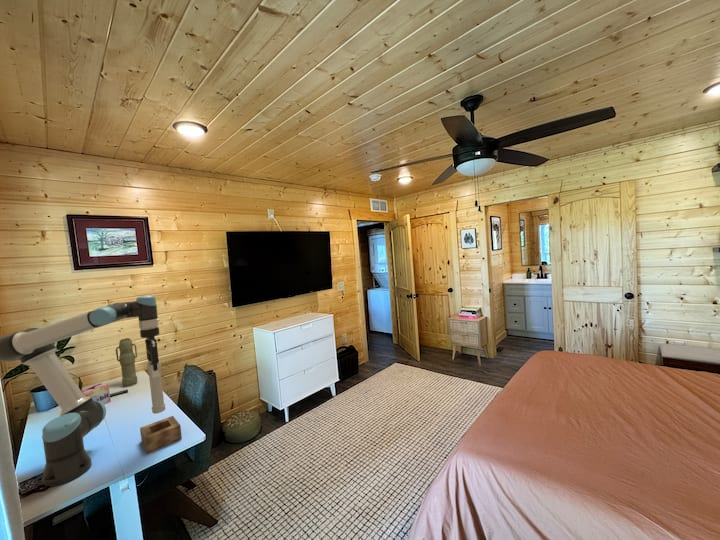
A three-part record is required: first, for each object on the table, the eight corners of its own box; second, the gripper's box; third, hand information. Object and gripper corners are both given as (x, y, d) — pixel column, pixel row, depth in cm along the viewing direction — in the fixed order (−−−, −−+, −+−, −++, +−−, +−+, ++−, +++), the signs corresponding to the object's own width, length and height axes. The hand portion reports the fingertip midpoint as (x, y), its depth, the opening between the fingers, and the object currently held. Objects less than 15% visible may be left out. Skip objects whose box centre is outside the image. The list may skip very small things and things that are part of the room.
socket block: (147, 453, 138) (145, 438, 138) (141, 441, 148) (140, 427, 148) (181, 438, 148) (180, 425, 147) (174, 428, 158) (172, 415, 157)
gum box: (103, 401, 199) (101, 382, 198) (113, 401, 198) (110, 382, 197) (65, 420, 177) (63, 399, 176) (76, 420, 176) (73, 398, 175)
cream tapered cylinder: (158, 414, 144) (152, 352, 143) (147, 413, 145) (141, 352, 144) (168, 408, 149) (162, 348, 148) (157, 408, 151) (151, 348, 149)
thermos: (119, 387, 221) (113, 340, 220) (139, 381, 229) (134, 336, 228) (120, 390, 215) (115, 342, 213) (141, 384, 223) (135, 338, 221)
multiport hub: (107, 397, 205) (107, 394, 205) (128, 392, 212) (127, 389, 212) (107, 400, 202) (107, 396, 201) (128, 394, 208) (127, 391, 208)
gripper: (163, 328, 141) (168, 377, 142) (154, 324, 154) (159, 368, 155) (143, 332, 136) (149, 382, 137) (136, 327, 149) (141, 373, 150)
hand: (154, 375), depth 146 cm, fingers closed on cream tapered cylinder, 5 cm apart
